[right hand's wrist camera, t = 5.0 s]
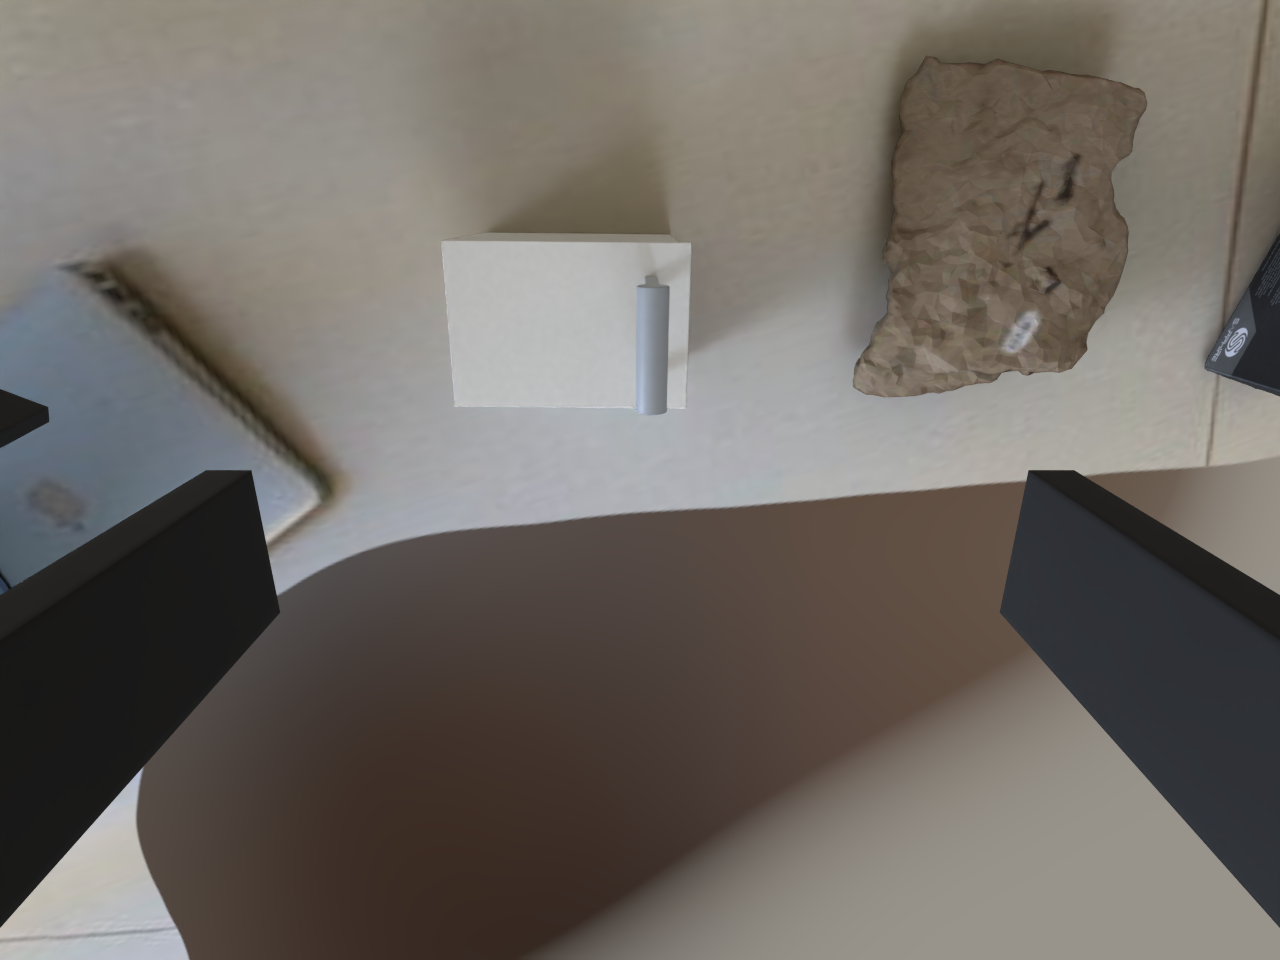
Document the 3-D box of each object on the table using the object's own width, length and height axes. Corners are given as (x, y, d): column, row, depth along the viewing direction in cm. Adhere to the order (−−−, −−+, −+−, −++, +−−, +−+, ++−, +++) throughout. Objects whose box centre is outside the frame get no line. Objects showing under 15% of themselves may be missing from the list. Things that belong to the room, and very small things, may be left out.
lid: (690, 241, 39) (702, 250, 32) (685, 404, 42) (695, 447, 35) (445, 239, 39) (398, 247, 32) (458, 402, 42) (418, 445, 35)
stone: (1067, 415, 50) (1101, 424, 45) (848, 391, 53) (854, 396, 47) (1137, 88, 46) (1185, 50, 40) (896, 81, 49) (908, 45, 43)
